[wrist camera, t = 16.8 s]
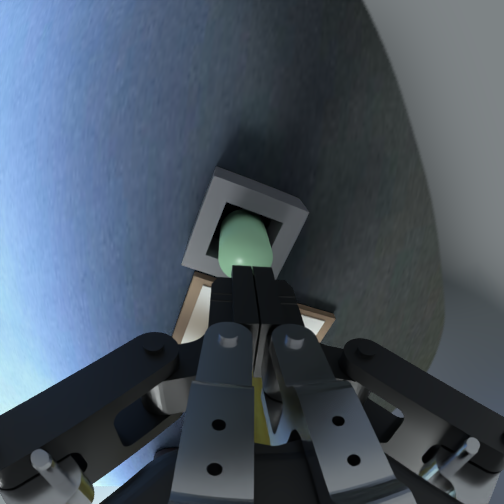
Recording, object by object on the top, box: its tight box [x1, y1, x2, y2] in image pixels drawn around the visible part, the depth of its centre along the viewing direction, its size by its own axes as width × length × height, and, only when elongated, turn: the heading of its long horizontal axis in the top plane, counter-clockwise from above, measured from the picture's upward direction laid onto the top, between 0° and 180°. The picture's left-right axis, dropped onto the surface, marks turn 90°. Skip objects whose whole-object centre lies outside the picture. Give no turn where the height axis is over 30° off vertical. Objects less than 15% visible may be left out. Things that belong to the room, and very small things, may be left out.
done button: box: [218, 209, 273, 278], centre depth 15 cm, size 2×2×3 cm
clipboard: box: [172, 271, 336, 344], centre depth 22 cm, size 10×10×1 cm
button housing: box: [181, 166, 309, 280], centre depth 17 cm, size 5×5×2 cm
